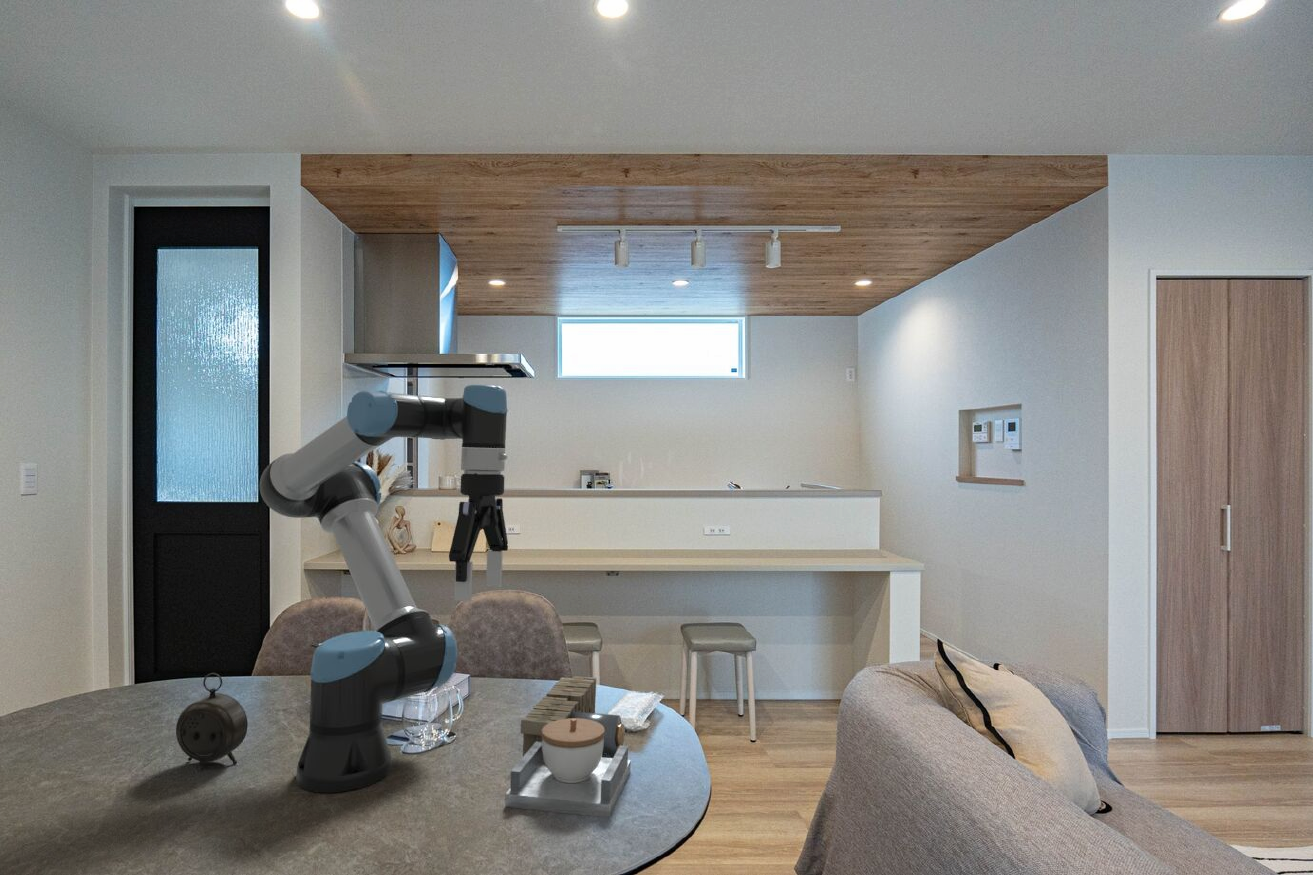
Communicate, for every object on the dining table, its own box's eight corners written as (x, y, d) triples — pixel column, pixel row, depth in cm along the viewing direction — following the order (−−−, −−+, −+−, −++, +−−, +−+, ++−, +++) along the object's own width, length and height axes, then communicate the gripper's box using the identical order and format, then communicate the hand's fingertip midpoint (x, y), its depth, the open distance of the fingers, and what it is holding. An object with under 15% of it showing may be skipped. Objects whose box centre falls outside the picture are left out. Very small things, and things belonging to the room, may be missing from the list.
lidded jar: (593, 792, 116) (595, 734, 116) (530, 785, 118) (532, 727, 118) (610, 765, 127) (612, 711, 127) (552, 759, 129) (554, 706, 129)
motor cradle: (505, 806, 115) (506, 762, 115) (556, 740, 142) (557, 704, 142) (608, 817, 112) (610, 772, 112) (641, 748, 139) (641, 711, 140)
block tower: (561, 713, 160) (517, 763, 131) (563, 675, 161) (519, 716, 132) (596, 716, 159) (559, 767, 130) (597, 677, 160) (560, 719, 131)
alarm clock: (247, 760, 130) (251, 669, 130) (227, 773, 124) (231, 678, 125) (190, 757, 131) (194, 667, 131) (168, 770, 125) (172, 676, 126)
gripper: (474, 474, 114) (470, 608, 114) (526, 472, 139) (523, 582, 139) (430, 473, 116) (425, 606, 115) (490, 471, 140) (486, 580, 140)
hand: (479, 593), depth 127 cm, fingers open, 13 cm apart
